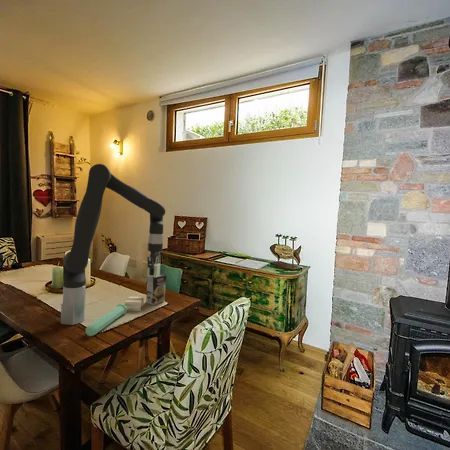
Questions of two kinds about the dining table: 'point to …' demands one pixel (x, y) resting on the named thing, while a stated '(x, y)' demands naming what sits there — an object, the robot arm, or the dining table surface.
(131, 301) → the birch base
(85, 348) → the dining table surface
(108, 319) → the container
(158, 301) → the coffee box
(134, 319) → the dining table surface
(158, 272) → the sage block
